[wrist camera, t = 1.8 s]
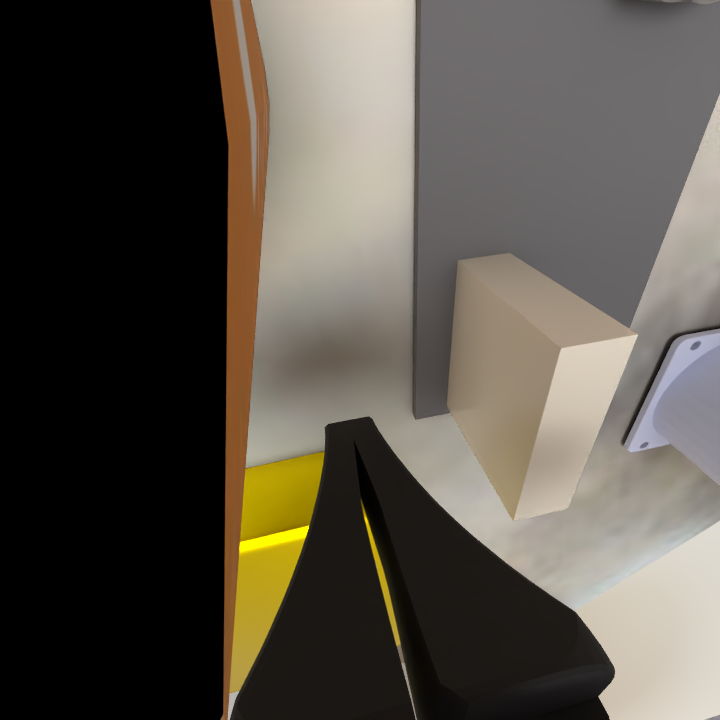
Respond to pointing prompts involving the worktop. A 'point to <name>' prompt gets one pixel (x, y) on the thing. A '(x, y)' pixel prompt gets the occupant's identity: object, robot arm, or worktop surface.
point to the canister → (125, 350)
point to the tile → (530, 379)
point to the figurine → (697, 0)
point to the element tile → (276, 551)
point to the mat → (551, 148)
